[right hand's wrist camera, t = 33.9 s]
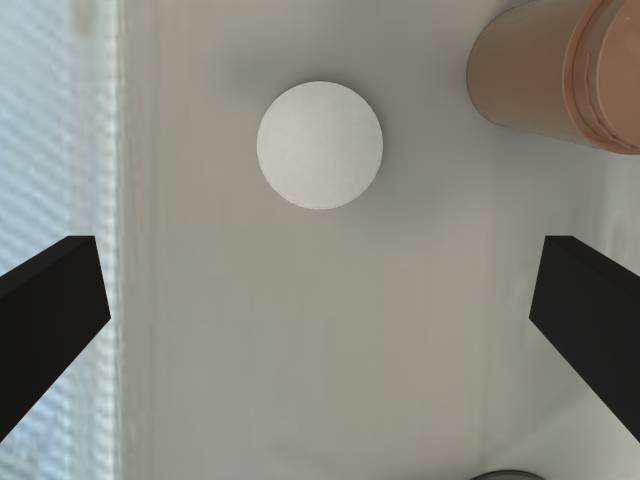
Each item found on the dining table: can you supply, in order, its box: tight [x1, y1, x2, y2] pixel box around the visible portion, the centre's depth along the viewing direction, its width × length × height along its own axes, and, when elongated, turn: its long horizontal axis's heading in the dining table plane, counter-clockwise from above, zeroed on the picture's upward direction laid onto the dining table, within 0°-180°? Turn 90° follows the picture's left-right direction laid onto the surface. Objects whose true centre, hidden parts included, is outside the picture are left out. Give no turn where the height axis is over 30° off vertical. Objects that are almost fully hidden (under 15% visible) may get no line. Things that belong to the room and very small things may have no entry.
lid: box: [257, 81, 383, 209], centre depth 38 cm, size 11×11×2 cm
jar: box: [467, 0, 640, 155], centre depth 28 cm, size 10×10×18 cm
